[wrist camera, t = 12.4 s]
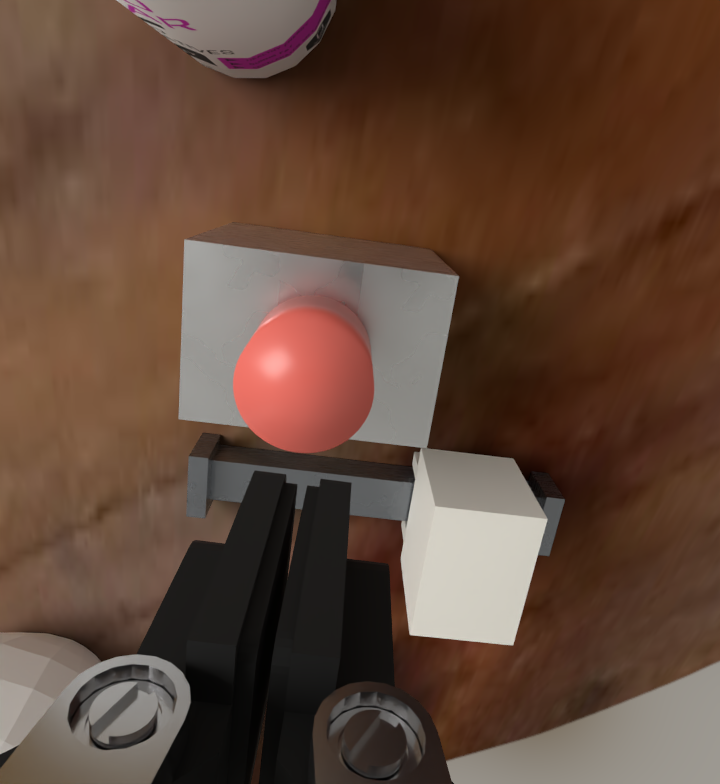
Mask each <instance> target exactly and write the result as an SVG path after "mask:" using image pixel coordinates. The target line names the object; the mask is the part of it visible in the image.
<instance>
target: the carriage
mask: <svg viewBox="0 0 720 784" xmlns="http://www.w3.org/2000/svg"><path fill="white" fill-rule="evenodd" d="M412 466H413V471H414V476H415V483H414V489H413V494H412V500H411V505H410V511H409V516H408V521H402V524H401V526H402V534H403V541H404V543H403V549H402V554H401V566H402V574H403V583H404V591H405V599H406V608H407V616H408V624H409V633H410V635H416V636H426V637H435V638H445V639H455V640H465V641H475V642H485V643H494V644H504V645H513V644H514V640H515V636H516V633H517V629H518V625H519V622H520V618H521V614H522V611H523V607H524V603H525V600H526V596H527V593H528V589H529V585H530V582H531V578H532V574H533V571H534V567H535V563H536V560H537V556H538V552H539V549H540V545H541V541H542V538H543V534H544V531H545V527H546V523H547V520H548V519H547V517H546V515H545V514H544V512H543V510H542V508H541V506H540V505H539V503H538V501H537V499H536V498H535V496H534V494H533V492H532V491H531V489H530V487H529V485H528V483H527V482H526V480H525V478H524V476H523V475H522V473H521V471H520V469H519V468H518V466H517V464H516V462H515V460H514V459H513V458H504V457H496V456H487V455H479V454H470V453H462V452H453V451H445V450H436V449H428V448H421V451H420V452H414V457H413V463H412Z"/></svg>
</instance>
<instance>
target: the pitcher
mask: <svg viewBox="0 0 720 784" xmlns="http://www.w3.org/2000/svg"><path fill="white" fill-rule="evenodd" d="M100 662H101V661H100V660H99V658H98V657H97V656H96V655H95V654H94V653H92V652H91V651H90V650H88V649H87V648H86V647H84V646H83V645H81V644H79V643H77V642H75V641H74V640H71V639H67V638H64V637H60V636H56V635H52V634H48V633H26V632H1V633H0V754H2V753H4V752H6V751H8V750H10V749H12V748H14V747H16V746H18V745H20V743H21V742H22V741H23V740H24V738H25V737H26V736H27V735H28V733H29V732H30V731H31V730H32V728H33V727H34V726H35V725H36V723H37V722H38V721H39V720H40V718H41V717H42V716H43V715H44V713H45V712H46V711H47V710H48V708H49V707H50V706H51V705H52V703H53V702H54V701H55V700H56V698H57V697H58V696H59V695H60V694H61V692H62V691H63V690H64V689H65V688H66V687H67V686H68V685H69V684H70V683H71V682H72V681H73V680H74V679H75V678H76V677H77V676H78V675H79V674H81V673H82V672H84V671H86V670H87V669H89V668H91V667H92V666H94V665H96V664H97V663H100Z"/></svg>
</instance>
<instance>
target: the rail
mask: <svg viewBox="0 0 720 784" xmlns="http://www.w3.org/2000/svg"><path fill="white" fill-rule="evenodd" d="M220 436H221V435H217V434H208V433H202V435H201V437H200V438H199V440H198V442H197V443H196V445H195V447H194V448H193V450H192V452H191V453H190V455H189V465H188V490H187V515H186V516H189V517H198V518H205V517H206V515H207V513H208V511H209V508H210V506H211V504H212V502H213V500H222V501H231V502H240V503H242V500H243V498H244V495H245V493H246V490H247V488H248V485H249V482H250V480H251V477H252V475H253V473H254V471H255V470H256V471H264V472H272V473H280V474H286V476H287V478H286V483H293V484H297V496H296V505H295V509H302V508H303V503H304V498H305V493H306V488H307V485H309V486H317V487H319V485H320V480H321V479H327V480H335V481H343V482H351V483H352V484H351V500H350V515H356V516H365V517H374V518H383V519H392V520H401V521H408V516H409V511H410V505H411V500H412V494H413V489H414V483H415V476H414V471H413V467H409V466H400V465H392V464H383V463H375V462H366V461H357V460H349V459H340V458H332V457H323V456H314V455H306V454H297V453H289V452H280V451H271V450H263V449H254V448H246V447H237V446H228V445H220ZM526 482H527V483H528V485H529V487H530V489H531V491H532V492H533V494H534V496H535V498H536V499H537V501H538V503H539V505H540V506H541V508H542V510H543V512H544V514H545V515H546V517H547V519H548V520H547V523H546V527H545V531H544V534H543V538H542V541H541V545H540V549H539V552H538V555H544V556H549V555H550V551H551V548H552V544H553V541H554V537H555V534H556V530H557V526H558V523H559V519H560V516H561V512H562V509H563V505H564V502H565V498H564V497H563V495H562V494H561V492H560V491H559V489H558V488H557V486H556V485H555V483H554V482H553V480H552V479H551V477H550V476H549V474H548V473H541V472H533V471H531V474H530V478H529V480H526Z"/></svg>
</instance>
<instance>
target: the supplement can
mask: <svg viewBox="0 0 720 784" xmlns="http://www.w3.org/2000/svg"><path fill="white" fill-rule="evenodd" d="M117 1H118V2H119V3H121V4H122V5H123V6H125V7H126V8H127V9H129V10H130V11H131V12H133V13H134V14H135V15H137V16H138V17H139V18H141V19H142V20H143V21H145V22H146V23H147V24H149V25H150V26H151V27H153V28H154V29H155V30H157V31H158V32H159V33H161V34H162V35H163V36H165V37H166V38H167V39H169V40H170V41H171V42H173V43H174V44H175V45H177V46H178V47H179V48H181V49H182V50H183V51H185V52H186V53H187V54H189V55H190V56H191V57H193V58H194V59H196V60H197V61H198V62H200V63H201V64H202V65H204V66H206V67H208V68H211V69H213V70H216V71H218V72H221V73H223V74H226V75H228V76H231V77H233V78H268V77H270V76H272V75H275V74H277V73H280V72H282V71H285V70H287V69H290V68H292V67H294V66H296V65H297V64H298V63H299V62H300V61H301V60H302V59H303V58H304V57H305V56H306V55H307V54H308V53H310V52H311V51H312V50H313V49H314V48H315V47H316V46H317V45H318V44H319V43H320V41H321V39H322V37H323V35H324V33H325V31H326V28H327V26H328V24H329V22H330V20H331V18H332V16H333V14H334V12H335V8H336V2H337V0H117Z"/></svg>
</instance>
